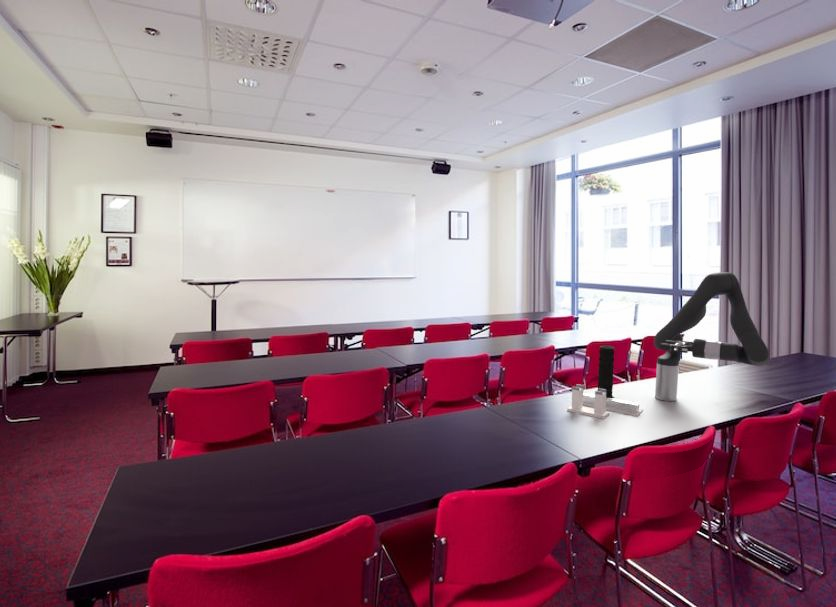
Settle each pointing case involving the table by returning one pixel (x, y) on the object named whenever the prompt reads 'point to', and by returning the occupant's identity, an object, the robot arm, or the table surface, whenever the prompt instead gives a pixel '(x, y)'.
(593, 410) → the rack
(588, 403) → the mat
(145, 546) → the table surface
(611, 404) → the rail
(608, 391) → the handle grip
